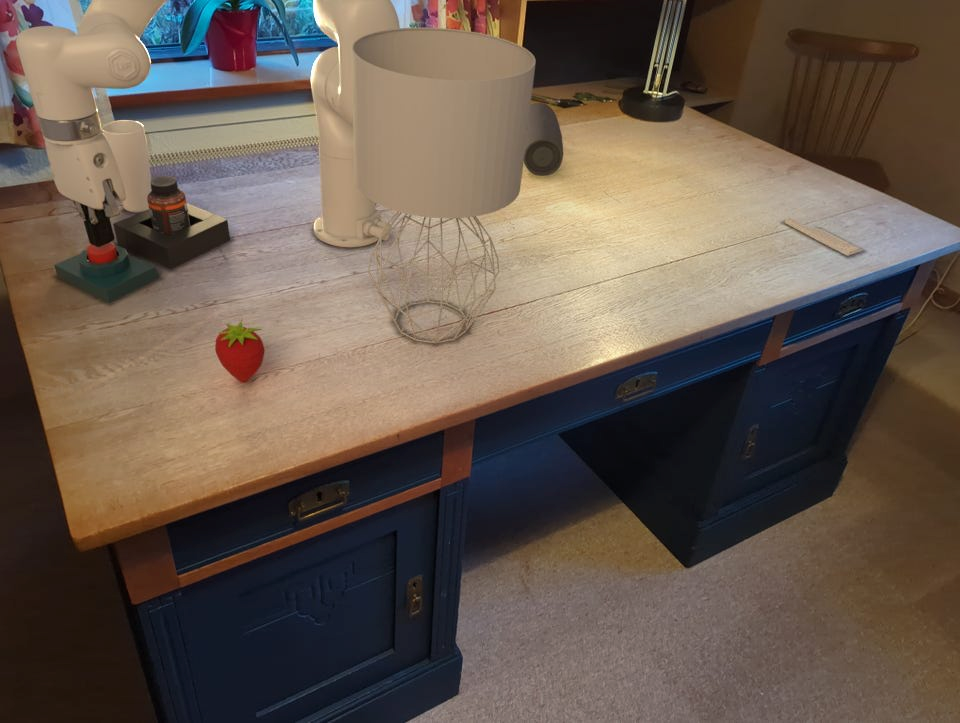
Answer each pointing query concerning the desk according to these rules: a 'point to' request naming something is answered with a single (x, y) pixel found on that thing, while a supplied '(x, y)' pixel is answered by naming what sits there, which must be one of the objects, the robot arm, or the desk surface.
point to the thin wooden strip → (825, 238)
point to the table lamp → (439, 136)
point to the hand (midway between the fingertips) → (102, 242)
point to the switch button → (102, 253)
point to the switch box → (107, 274)
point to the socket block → (172, 237)
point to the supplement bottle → (167, 206)
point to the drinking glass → (131, 161)
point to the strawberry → (240, 351)
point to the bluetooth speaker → (543, 141)
